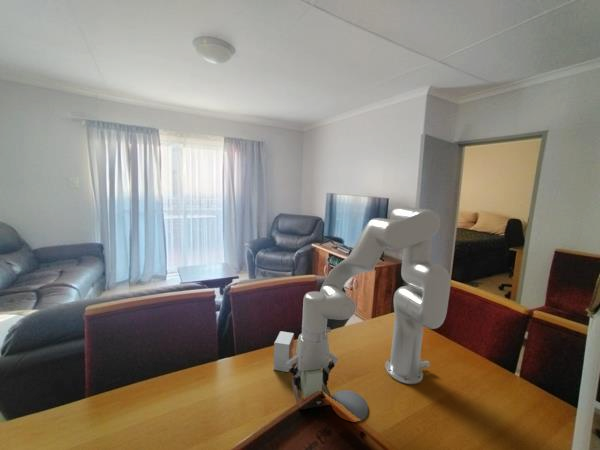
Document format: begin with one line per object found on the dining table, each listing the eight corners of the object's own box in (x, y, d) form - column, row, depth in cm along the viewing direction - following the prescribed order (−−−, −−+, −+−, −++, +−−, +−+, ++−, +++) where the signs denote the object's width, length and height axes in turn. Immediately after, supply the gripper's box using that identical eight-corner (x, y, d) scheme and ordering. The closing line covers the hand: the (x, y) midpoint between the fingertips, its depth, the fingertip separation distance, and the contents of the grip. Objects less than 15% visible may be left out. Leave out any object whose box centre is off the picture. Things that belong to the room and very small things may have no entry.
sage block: (315, 385, 85) (316, 360, 83) (321, 399, 79) (322, 372, 78) (300, 387, 83) (301, 361, 82) (305, 402, 78) (306, 375, 76)
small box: (288, 373, 90) (289, 345, 88) (272, 370, 91) (273, 342, 89) (293, 358, 97) (294, 332, 96) (279, 356, 98) (280, 330, 97)
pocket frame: (320, 377, 88) (320, 372, 88) (332, 405, 77) (332, 399, 77) (290, 382, 85) (291, 376, 85) (299, 410, 74) (299, 404, 74)
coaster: (357, 389, 83) (357, 387, 83) (375, 418, 73) (375, 416, 73) (325, 394, 81) (325, 392, 81) (339, 425, 70) (339, 423, 70)
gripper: (335, 324, 84) (332, 372, 86) (283, 328, 80) (281, 379, 82) (345, 336, 77) (341, 389, 79) (288, 342, 73) (286, 397, 75)
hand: (311, 384), depth 81 cm, fingers open, 8 cm apart
